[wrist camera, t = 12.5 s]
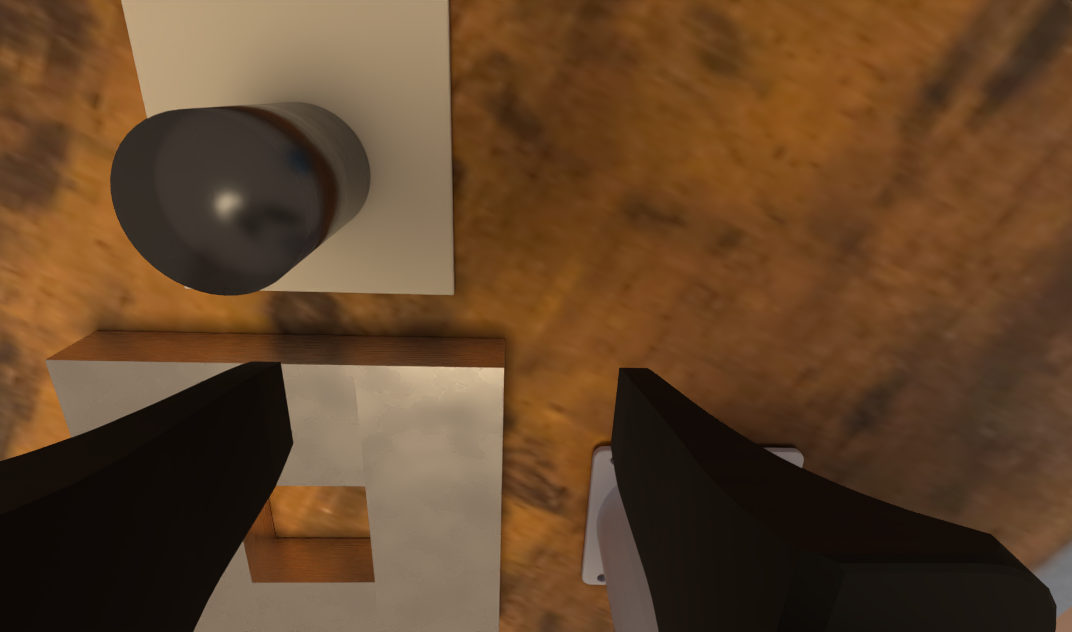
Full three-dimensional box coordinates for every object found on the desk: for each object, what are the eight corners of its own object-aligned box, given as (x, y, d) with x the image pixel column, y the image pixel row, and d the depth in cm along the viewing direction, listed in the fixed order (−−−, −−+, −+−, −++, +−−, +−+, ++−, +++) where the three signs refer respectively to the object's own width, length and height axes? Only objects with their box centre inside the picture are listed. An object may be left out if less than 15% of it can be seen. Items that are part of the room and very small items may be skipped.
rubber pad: (448, -3, 17) (447, -5, 17) (454, 291, 21) (453, 295, 21) (125, -19, 17) (116, -22, 16) (190, 285, 21) (184, 288, 20)
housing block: (504, 338, 22) (503, 367, 20) (499, 618, 28) (498, 665, 26) (95, 330, 21) (45, 359, 19) (181, 620, 27) (151, 669, 25)
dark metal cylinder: (367, 107, 18) (297, 116, 12) (373, 235, 20) (313, 299, 14) (231, 96, 18) (89, 101, 12) (248, 228, 19) (132, 290, 13)
